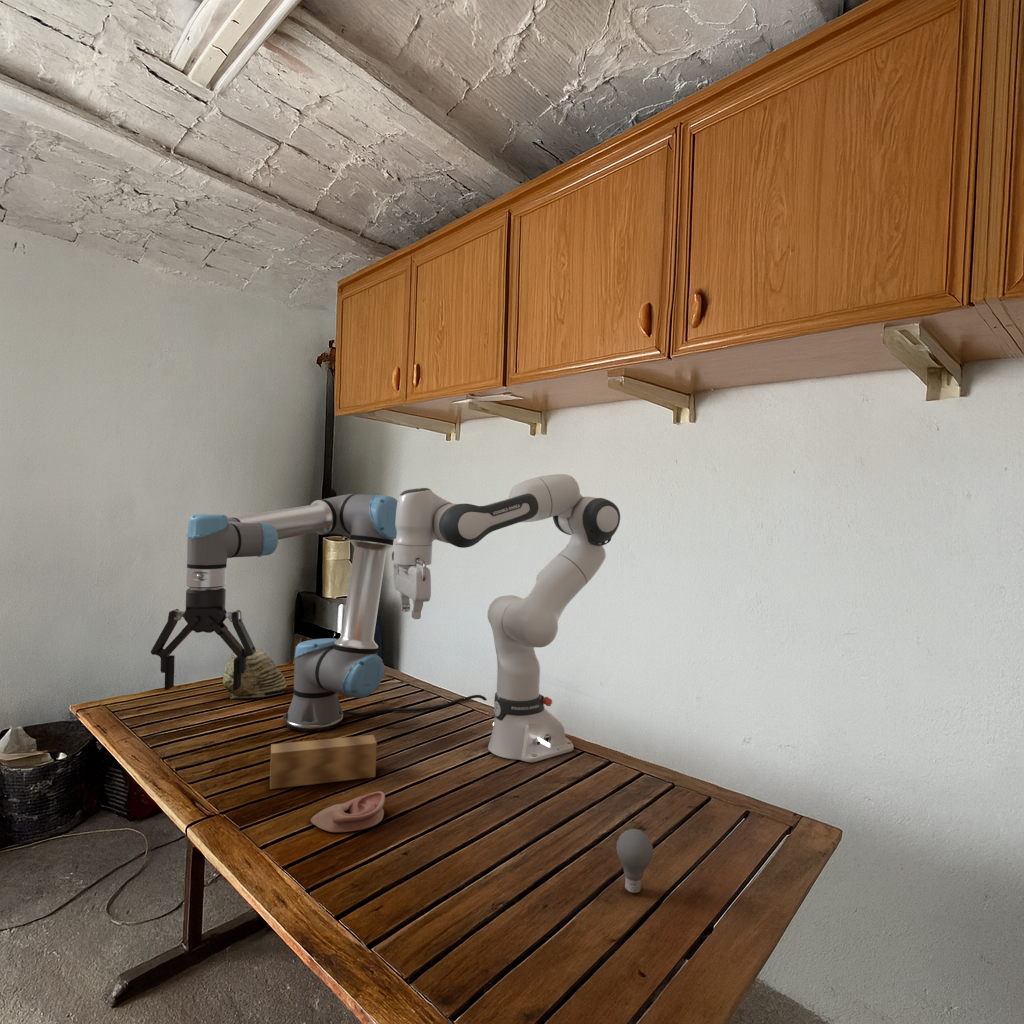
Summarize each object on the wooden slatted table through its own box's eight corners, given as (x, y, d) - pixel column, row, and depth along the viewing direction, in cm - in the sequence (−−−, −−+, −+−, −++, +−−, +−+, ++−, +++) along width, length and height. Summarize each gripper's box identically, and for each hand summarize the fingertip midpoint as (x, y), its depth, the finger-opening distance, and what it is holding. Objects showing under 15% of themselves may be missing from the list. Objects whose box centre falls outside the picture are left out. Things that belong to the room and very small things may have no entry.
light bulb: (610, 879, 108) (613, 822, 108) (644, 879, 109) (647, 822, 109) (619, 902, 102) (622, 840, 102) (655, 901, 103) (658, 840, 103)
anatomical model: (303, 807, 121) (332, 781, 132) (302, 827, 121) (331, 800, 132) (368, 817, 118) (392, 790, 129) (367, 838, 118) (391, 809, 129)
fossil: (218, 695, 195) (220, 647, 195) (278, 685, 208) (279, 640, 207) (228, 703, 189) (230, 653, 188) (289, 692, 201) (290, 645, 201)
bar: (269, 789, 136) (271, 753, 136) (269, 779, 141) (271, 744, 141) (375, 776, 144) (376, 742, 144) (371, 767, 149) (373, 734, 149)
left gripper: (134, 588, 128) (131, 693, 128) (263, 591, 130) (259, 694, 131) (151, 583, 135) (148, 682, 135) (272, 586, 138) (269, 683, 138)
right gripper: (439, 561, 141) (436, 622, 142) (414, 552, 160) (412, 607, 160) (411, 561, 139) (409, 624, 139) (389, 552, 157) (387, 607, 158)
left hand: (203, 688), depth 133 cm, fingers open, 13 cm apart
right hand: (410, 614), depth 150 cm, fingers open, 8 cm apart
